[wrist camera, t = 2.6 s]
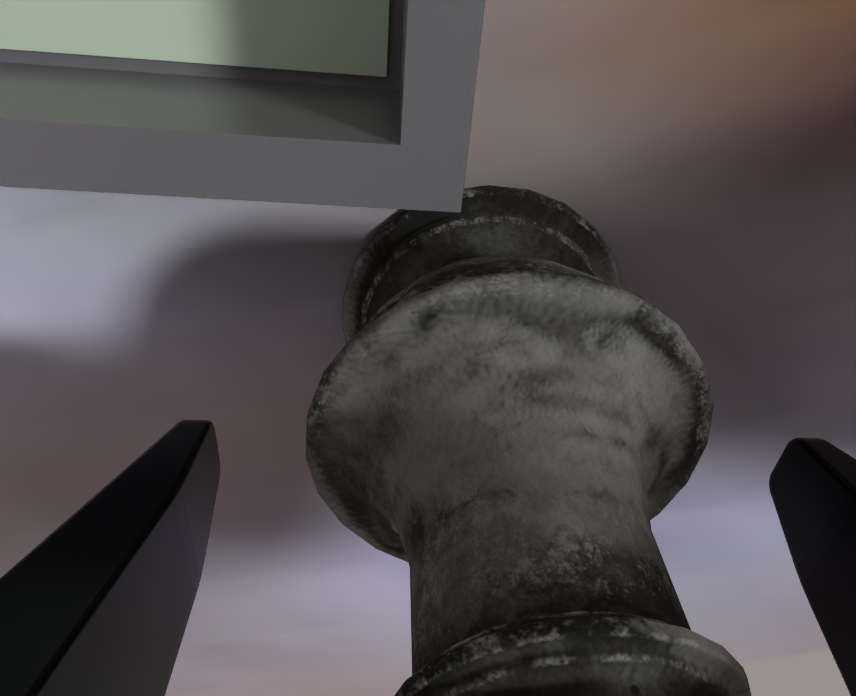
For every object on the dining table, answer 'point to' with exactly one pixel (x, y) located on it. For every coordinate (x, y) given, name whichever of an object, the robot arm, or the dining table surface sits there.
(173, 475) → the robot arm
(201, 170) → the socket strip
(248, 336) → the dining table surface
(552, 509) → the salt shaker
